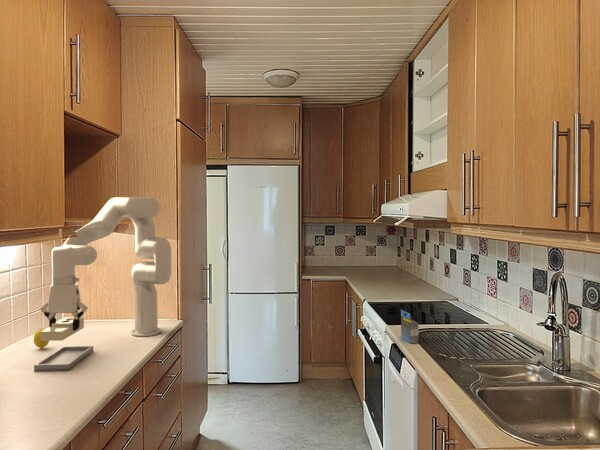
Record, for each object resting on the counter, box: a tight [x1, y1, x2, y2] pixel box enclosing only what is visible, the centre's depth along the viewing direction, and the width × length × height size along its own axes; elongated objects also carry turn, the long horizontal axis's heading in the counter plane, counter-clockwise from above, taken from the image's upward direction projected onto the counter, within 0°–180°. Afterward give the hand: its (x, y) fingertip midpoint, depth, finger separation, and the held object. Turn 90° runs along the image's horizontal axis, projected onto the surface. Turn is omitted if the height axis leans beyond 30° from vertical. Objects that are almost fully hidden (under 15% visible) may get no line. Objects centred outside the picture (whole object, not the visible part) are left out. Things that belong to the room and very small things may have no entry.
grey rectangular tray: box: [33, 345, 94, 372], centre depth 181 cm, size 23×12×2 cm, turn 3°
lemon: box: [33, 328, 50, 350], centre depth 196 cm, size 6×6×8 cm
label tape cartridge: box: [400, 309, 420, 345], centre depth 205 cm, size 9×4×12 cm, turn 15°
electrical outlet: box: [41, 316, 85, 342], centre depth 179 cm, size 7×4×18 cm
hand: (64, 329), depth 180 cm, fingers closed on electrical outlet, 7 cm apart
